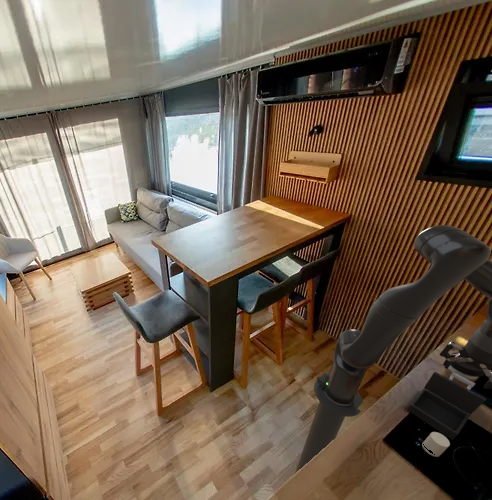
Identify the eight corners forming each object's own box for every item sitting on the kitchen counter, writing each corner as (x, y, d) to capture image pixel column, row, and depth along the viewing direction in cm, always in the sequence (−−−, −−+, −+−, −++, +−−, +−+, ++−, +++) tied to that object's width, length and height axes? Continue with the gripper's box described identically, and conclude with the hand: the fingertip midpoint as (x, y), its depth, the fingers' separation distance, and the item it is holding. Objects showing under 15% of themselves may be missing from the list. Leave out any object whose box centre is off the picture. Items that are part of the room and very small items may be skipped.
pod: (419, 447, 82) (428, 437, 79) (425, 439, 84) (433, 429, 80) (437, 459, 79) (446, 449, 76) (442, 451, 80) (452, 441, 77)
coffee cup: (459, 401, 91) (480, 376, 83) (428, 382, 98) (445, 357, 90) (471, 389, 93) (493, 364, 86) (440, 371, 100) (457, 347, 93)
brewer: (452, 440, 82) (457, 434, 80) (406, 409, 91) (410, 404, 90) (465, 420, 86) (470, 415, 84) (419, 393, 95) (423, 387, 93)
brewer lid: (485, 400, 78) (493, 389, 79) (433, 372, 87) (441, 362, 88) (470, 415, 84) (478, 404, 85) (423, 387, 93) (431, 378, 94)
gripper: (450, 335, 79) (430, 367, 87) (527, 368, 68) (495, 401, 76) (460, 324, 82) (439, 355, 90) (535, 354, 71) (504, 387, 79)
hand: (465, 376), depth 83 cm, fingers open, 8 cm apart
